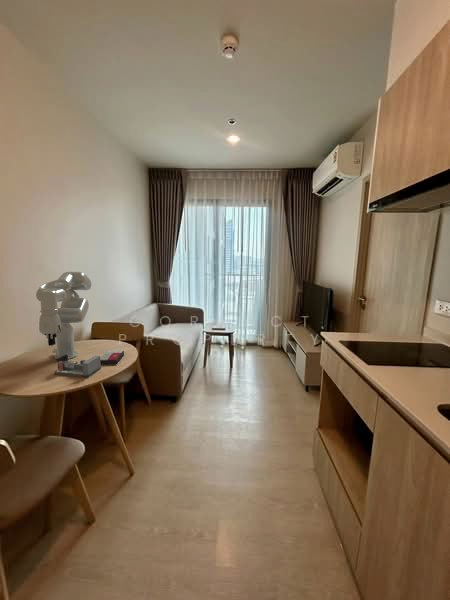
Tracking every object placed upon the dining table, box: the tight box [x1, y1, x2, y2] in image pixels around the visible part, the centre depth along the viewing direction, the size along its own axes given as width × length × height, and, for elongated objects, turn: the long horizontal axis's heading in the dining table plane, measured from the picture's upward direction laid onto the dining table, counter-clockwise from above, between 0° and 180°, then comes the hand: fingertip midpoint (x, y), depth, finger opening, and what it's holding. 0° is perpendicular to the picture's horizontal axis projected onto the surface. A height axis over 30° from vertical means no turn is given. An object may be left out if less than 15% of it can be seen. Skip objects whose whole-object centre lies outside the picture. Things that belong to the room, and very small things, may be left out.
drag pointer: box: [59, 361, 63, 371], centre depth 141 cm, size 1×2×5 cm, turn 172°
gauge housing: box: [54, 355, 102, 378], centre depth 145 cm, size 20×11×8 cm, turn 82°
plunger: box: [56, 355, 78, 370], centre depth 144 cm, size 8×8×6 cm
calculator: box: [100, 349, 125, 366], centre depth 163 cm, size 11×4×15 cm
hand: (52, 344), depth 144 cm, fingers closed
